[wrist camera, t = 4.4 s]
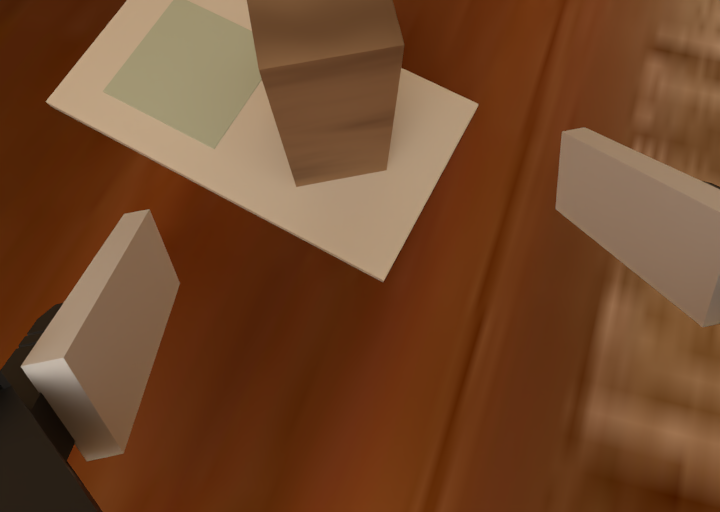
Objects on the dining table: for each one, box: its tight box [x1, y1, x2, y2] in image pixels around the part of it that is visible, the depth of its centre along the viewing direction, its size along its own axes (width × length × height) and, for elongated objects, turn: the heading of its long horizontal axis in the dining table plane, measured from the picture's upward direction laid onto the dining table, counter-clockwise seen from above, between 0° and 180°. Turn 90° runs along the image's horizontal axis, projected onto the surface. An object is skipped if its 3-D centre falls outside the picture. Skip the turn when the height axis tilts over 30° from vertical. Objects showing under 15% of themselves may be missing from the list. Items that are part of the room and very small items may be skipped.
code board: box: [46, 0, 479, 282], centre depth 32 cm, size 14×26×1 cm, turn 62°
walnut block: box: [247, 0, 404, 187], centre depth 25 cm, size 6×6×12 cm
